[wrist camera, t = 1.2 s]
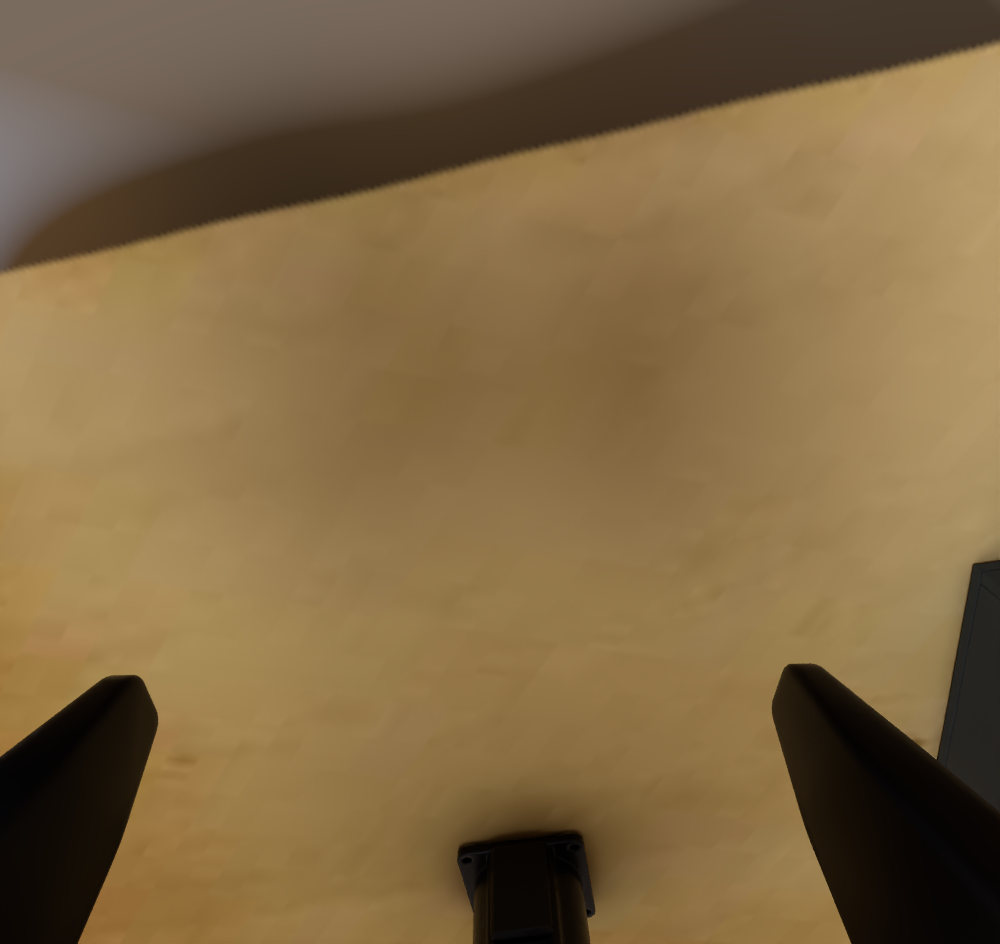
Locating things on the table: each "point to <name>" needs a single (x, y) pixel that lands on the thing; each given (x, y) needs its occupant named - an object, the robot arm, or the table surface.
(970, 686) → the bin
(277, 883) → the table surface
